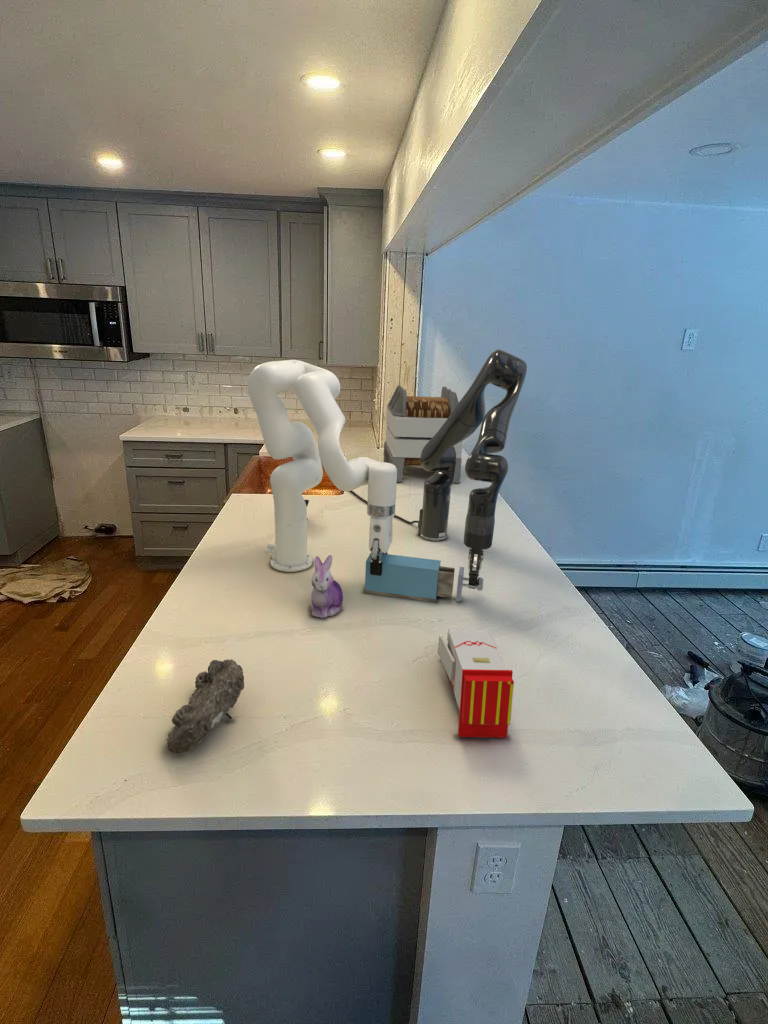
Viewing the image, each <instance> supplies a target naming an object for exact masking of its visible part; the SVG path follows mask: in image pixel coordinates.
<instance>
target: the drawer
mask: <svg viewBox="0 0 768 1024" xmlns="http://www.w3.org/2000/svg"><path fill="white" fill-rule="evenodd" d="M458 569H459V570H458V574H457V575H458V576H457V587H456V596H455V601H456V602H461V599H462V593H463V587H466V588H469V587H472V588H476V590H477V591H480V592H481V591H483V590H484V578H483V577H482V576H481V577H479V576H478V578H477V585H471V584H468V583H463V582H464V581H467V582H469V577H464V574H465V567H464V566H459V568H458ZM455 570H456V568H455V567H449V566H442V565H440V567H439V571H438V582H437V594H436V596H437V597H441V598H442V597H443V598H449V599H452V597H453V593H454V592H453V591H454V581H455V580H454V579H455V572H456V571H455ZM472 588H471V589H472Z"/></svg>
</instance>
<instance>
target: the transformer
mask: <svg viewBox="0 0 768 1024" xmlns="http://www.w3.org/2000/svg"><path fill="white" fill-rule="evenodd" d="M440 393H441V394H440V396H415V395H414V396H413V395H412V396H411V395H407V394H408V393H407V390H406V389H404V388H403V387H402V385H399V384H398V385H397V386H396V388H395V390H394V392H393V394H392V395H391V398H390V400H389V402H388V404H387V405H386V413H385V414H386V415H385V423H386V428H385V438H384V442H383V462H386V463H391V464H393V465H395V466H396V468H397V483H402V482H403V475H404V469H405V466H406V467H407V466H411V467H412V466H413V467H415V466H416V467H417V466H418V467H422V466H421V463H420V456H421V452H422V450H423V448H424V446H425V445H426V444H427V443H428V442H429V441H430V440H431V439H432V438H433V437H434V435H435V434H436V433H437V432H438V431H439V429H440V428H441V427H442V425H443V424H444V423H445V421H446V420H447V419H448V417H449V416H450V414H451V413H452V411H453V410H454V408H455V407H456V405H457V404H458V403H459V402H460V401H459V398H458V395H457V392H455V391H453V390H452V389H451V388H447V386H442V387H441V392H440ZM463 442H464V440H463V441H461V442H460V443H458V444H456V445H454V448H455V451H456V467H455V473H454V481H453V484H455V483H456V484H459V483H461V472H462V461H463V460H462V453H463Z"/></svg>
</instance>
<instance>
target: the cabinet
mask: <svg viewBox="0 0 768 1024" xmlns="http://www.w3.org/2000/svg"><path fill="white" fill-rule="evenodd" d="M371 554H372V552H371V551H370V553H369V555H368V557H367V558H366V560H365V573H364V575H365V576H364V578H365V580H364V593H365V594H371V595H379V596H386V597H394V598H400V599H401V598H402V599H408V600H416V601H424V602H431V603H436V602H437V598H438V596H436V594H437V582H438V571H439V567H440V566H441V561H442V560H440V559H430V558H422V557H414V556H406V555H399V554H391V553H387V554H382V560H381V562H382V575H381V576H377V575H371V574H370V562H371ZM379 555H380V553H377V556H379Z"/></svg>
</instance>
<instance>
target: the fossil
mask: <svg viewBox="0 0 768 1024" xmlns="http://www.w3.org/2000/svg"><path fill="white" fill-rule="evenodd" d="M243 670H244V669H243V667H242V665H240V664H237V662H236V661H235V660H234V659H232V658H231V659H227V658H226V659H224V660H223V661H222V660H217V659H212V660H211V661H210V663H209V665H208V666H207V671H201V672H199V673H198V674H197V675H196V676H195V680H194V684H195V685H194V687H195V689H194V690H193V693H192V694H191V697H190V698H189V700H188V704H184V705H182V706H181V707H180V709H177V710H176V711H175V713H174V715H173V716H172V718H171V723H172V724H173V727H172V730H171V731H170V732H168V734H167V738H166V741H167V742H166V745H167V749H168V750H169V751H173V752H174V753H176V754H178V753H182V752H188V751H189V752H192V751H193V750H195V748H196V747H197V746H199V744H200V743H201V742H203V741H204V740H205V739H206V738H207V737H208V736H209V735H210V734H211V733H212V732H214V730H215V729H217V727H218V726H219V724H220V722H221V721H222V720H223V719H224V718H225V716H226V717H227V719H229V720H233V717H232V715H230V714H229V710H230V709H231V708H234V706H235V704H236V703H237V702H238V699H239V697H240V695H241V693H242V691H243V690H245V689H244V688H245V675H244V671H243Z"/></svg>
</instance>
